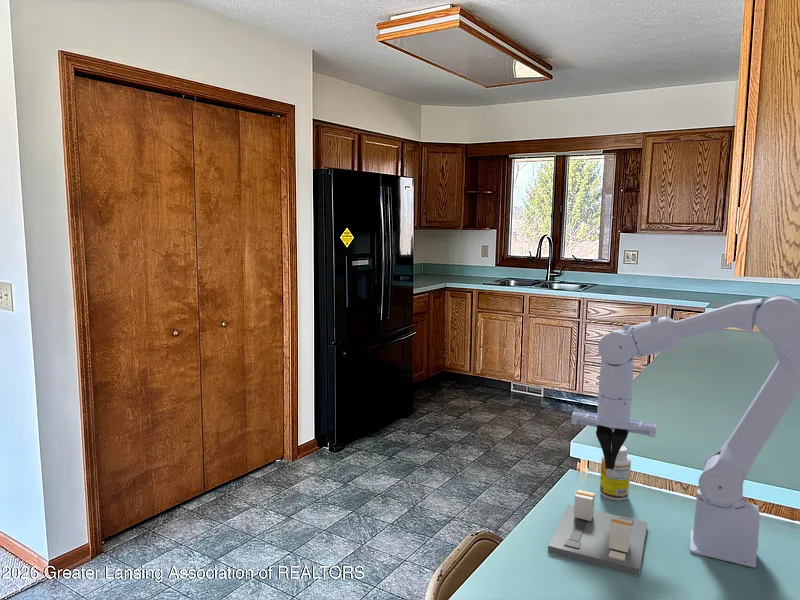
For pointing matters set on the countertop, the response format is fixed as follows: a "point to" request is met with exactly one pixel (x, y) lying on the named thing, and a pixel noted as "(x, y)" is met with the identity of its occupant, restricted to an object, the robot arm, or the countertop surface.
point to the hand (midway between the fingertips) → (610, 467)
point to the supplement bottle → (616, 477)
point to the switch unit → (598, 541)
